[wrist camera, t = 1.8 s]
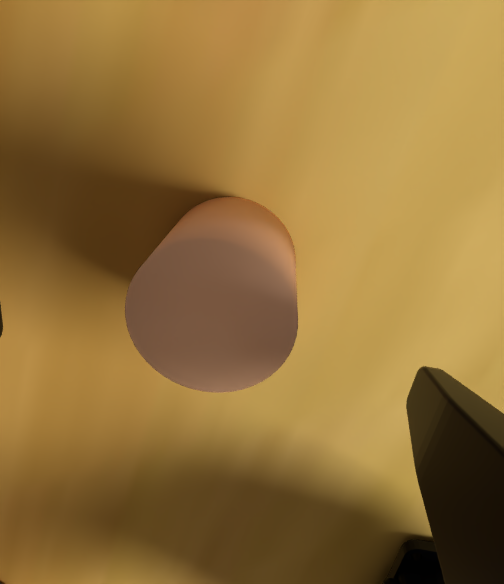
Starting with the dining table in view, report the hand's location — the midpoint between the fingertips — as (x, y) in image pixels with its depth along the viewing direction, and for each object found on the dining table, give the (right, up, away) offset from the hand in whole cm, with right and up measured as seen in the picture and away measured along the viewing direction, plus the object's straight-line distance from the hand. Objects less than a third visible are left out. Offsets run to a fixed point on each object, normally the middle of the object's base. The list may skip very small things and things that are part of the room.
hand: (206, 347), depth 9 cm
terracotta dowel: (0, +2, +4) cm, 5 cm away
